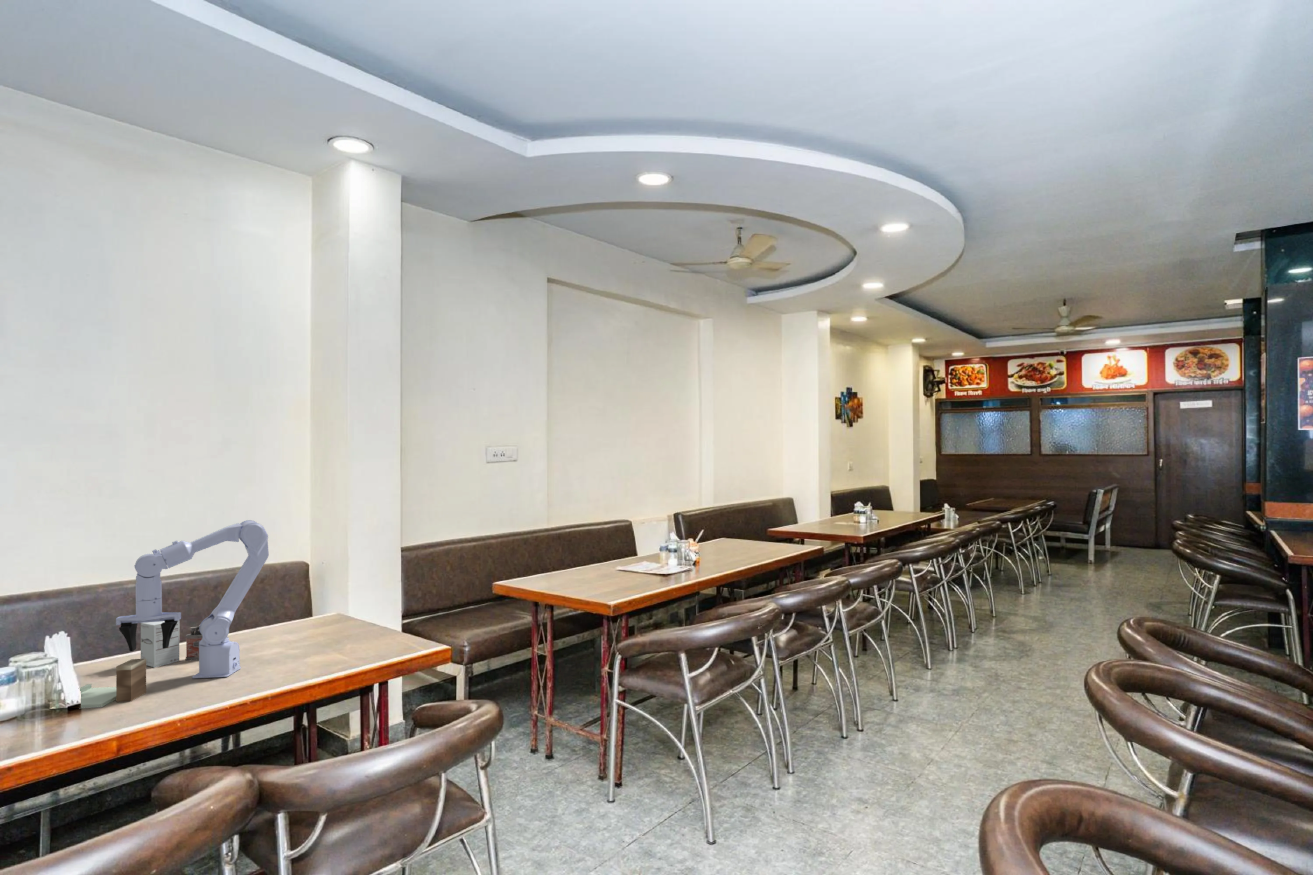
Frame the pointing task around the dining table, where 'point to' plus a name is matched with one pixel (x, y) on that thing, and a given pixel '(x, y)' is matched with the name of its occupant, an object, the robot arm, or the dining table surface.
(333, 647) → the dining table surface
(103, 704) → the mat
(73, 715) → the dining table surface
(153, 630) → the supplement box
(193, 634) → the small bottle
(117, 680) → the walnut block
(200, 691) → the dining table surface
